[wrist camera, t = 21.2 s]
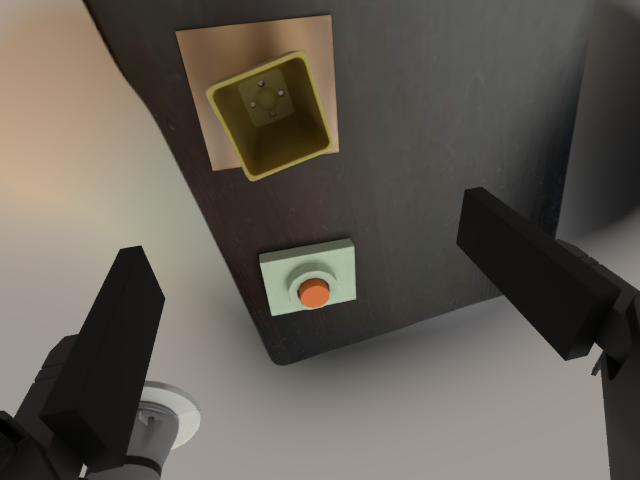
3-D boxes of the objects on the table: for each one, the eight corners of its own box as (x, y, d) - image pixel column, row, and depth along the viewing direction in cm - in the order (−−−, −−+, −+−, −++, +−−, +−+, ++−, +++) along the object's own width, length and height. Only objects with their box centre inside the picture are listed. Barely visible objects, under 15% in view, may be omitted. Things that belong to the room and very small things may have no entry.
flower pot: (318, 123, 40) (336, 149, 33) (247, 151, 40) (249, 183, 33) (291, 39, 35) (305, 47, 28) (209, 72, 35) (202, 89, 28)
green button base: (270, 306, 54) (272, 325, 51) (259, 254, 49) (260, 271, 46) (352, 289, 56) (359, 307, 53) (349, 237, 50) (357, 253, 47)
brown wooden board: (213, 169, 41) (212, 171, 41) (175, 31, 33) (174, 31, 33) (338, 150, 43) (339, 151, 42) (330, 14, 35) (331, 14, 35)
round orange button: (300, 302, 50) (302, 310, 49) (297, 280, 48) (299, 289, 47) (327, 296, 51) (330, 305, 49) (325, 275, 49) (328, 283, 47)
